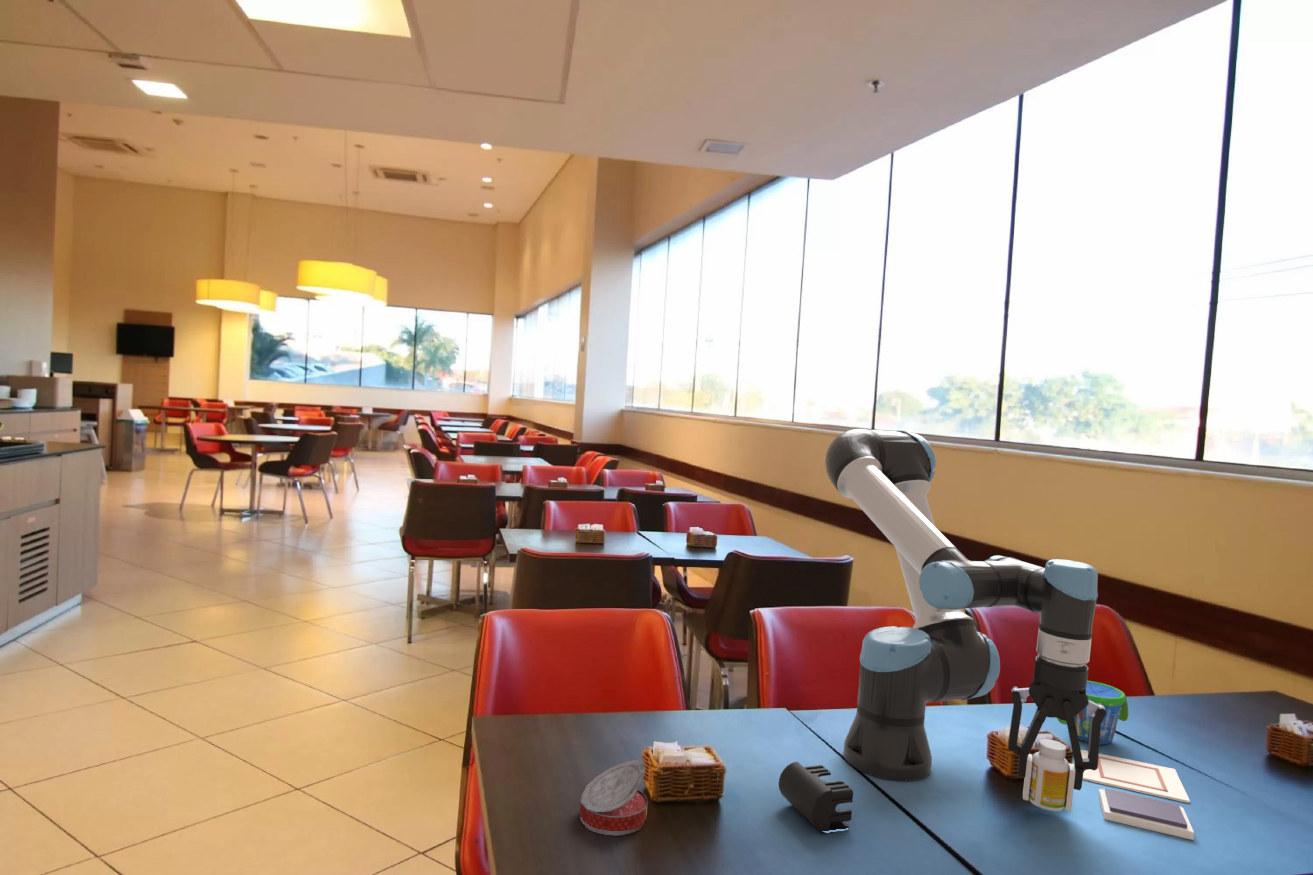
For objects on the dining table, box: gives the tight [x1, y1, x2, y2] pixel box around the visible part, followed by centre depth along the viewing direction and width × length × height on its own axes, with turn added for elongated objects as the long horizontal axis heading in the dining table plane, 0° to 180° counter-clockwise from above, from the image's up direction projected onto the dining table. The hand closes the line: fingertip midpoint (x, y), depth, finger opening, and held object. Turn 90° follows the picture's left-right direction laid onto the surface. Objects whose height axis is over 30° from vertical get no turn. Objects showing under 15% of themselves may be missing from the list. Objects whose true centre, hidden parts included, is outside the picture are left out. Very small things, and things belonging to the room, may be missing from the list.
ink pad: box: [1098, 787, 1195, 841], centre depth 129 cm, size 12×9×2 cm
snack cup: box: [1056, 680, 1130, 745], centre depth 161 cm, size 16×10×10 cm
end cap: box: [778, 761, 854, 832], centre depth 122 cm, size 10×7×7 cm
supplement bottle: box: [1028, 738, 1069, 812], centre depth 128 cm, size 5×5×10 cm
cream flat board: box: [1081, 749, 1191, 804], centre depth 145 cm, size 16×14×1 cm
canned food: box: [579, 759, 649, 831], centre depth 117 cm, size 11×10×10 cm
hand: (1046, 801), depth 128 cm, fingers closed on supplement bottle, 5 cm apart
